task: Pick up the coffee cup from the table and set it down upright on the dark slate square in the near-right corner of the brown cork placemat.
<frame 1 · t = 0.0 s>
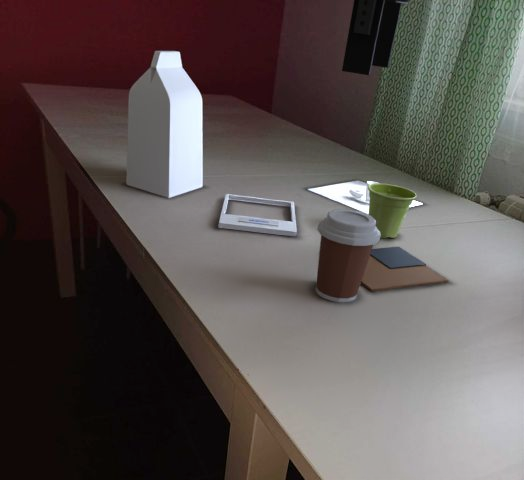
hand: (367, 69, 59), 31 cm above the table, tool pointing down, fingers open, 13 cm apart
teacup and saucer: (365, 197, 129), on the table
plant pot: (381, 234, 108), on the table
coffee cup: (335, 293, 83), on the table
milk: (165, 186, 118), on the table
photo frame: (258, 217, 108), on the table
placemat: (385, 268, 93), on the table
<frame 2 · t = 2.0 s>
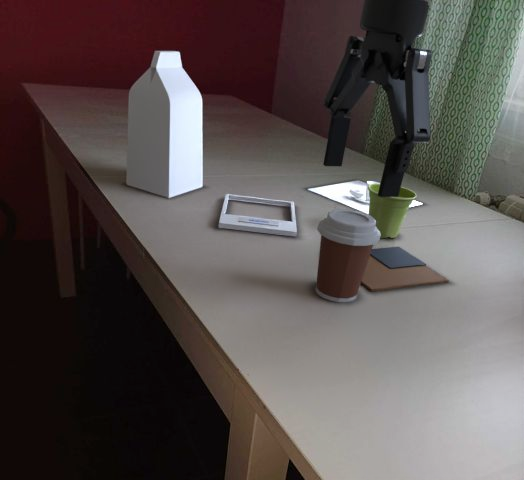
hand: (358, 180, 73), 17 cm above the table, tool pointing down, fingers open, 13 cm apart
nothing on the table moved.
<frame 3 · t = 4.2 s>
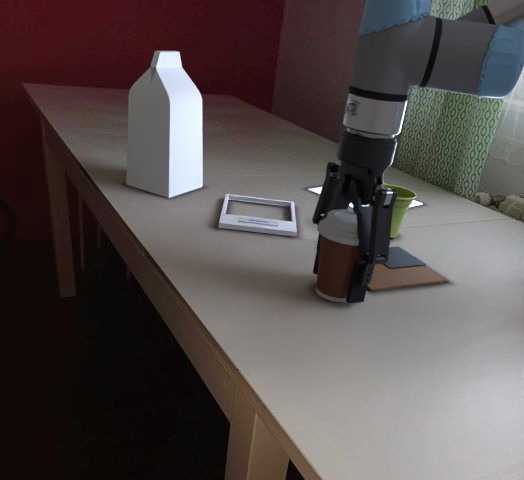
hand: (337, 286, 82), 1 cm above the table, tool pointing down, fingers closed on coffee cup, 9 cm apart
coffee cup: (335, 293, 83), on the table, touching gripper
everything else where it was.
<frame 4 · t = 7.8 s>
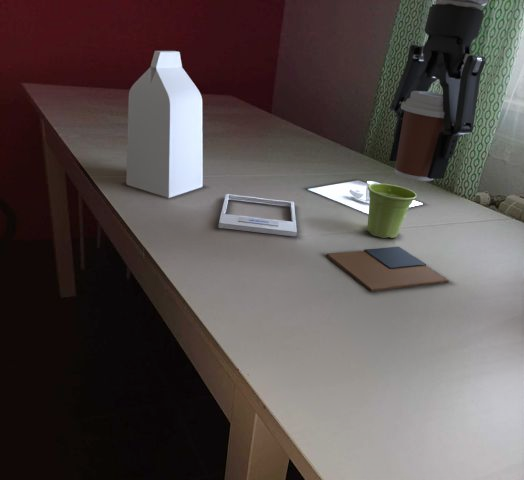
hand: (415, 168, 87), 16 cm above the table, tool pointing down, fingers closed on coffee cup, 9 cm apart
coffee cup: (413, 176, 88), point 15 cm above the table, touching gripper
everything else where it was.
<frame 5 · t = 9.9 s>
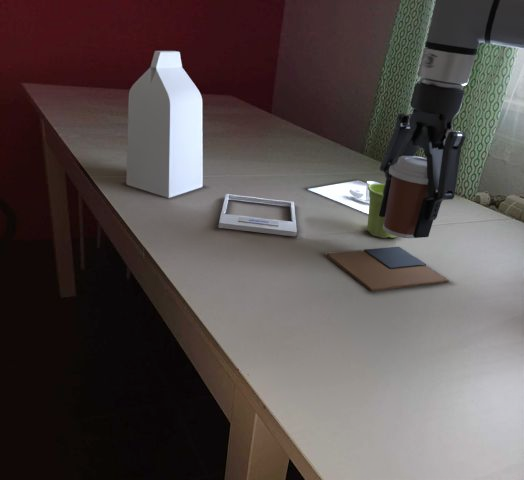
hand: (402, 225, 94), 6 cm above the table, tool pointing down, fingers closed on coffee cup, 9 cm apart
coffee cup: (400, 232, 94), point 5 cm above the table, touching gripper
everything else where it was.
when the fingers open (2 cm above the table, at t = 11.6 s): coffee cup stays where it is, resting on placemat.
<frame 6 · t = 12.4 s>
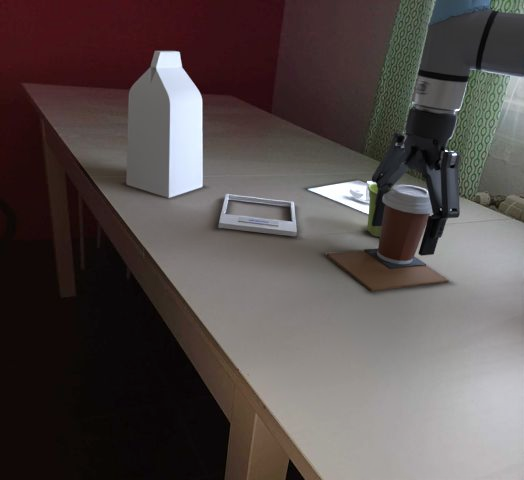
hand: (400, 239, 95), 4 cm above the table, tool pointing down, fingers open, 13 cm apart
coffee cup: (394, 257, 97), resting on placemat
everything else where it was.
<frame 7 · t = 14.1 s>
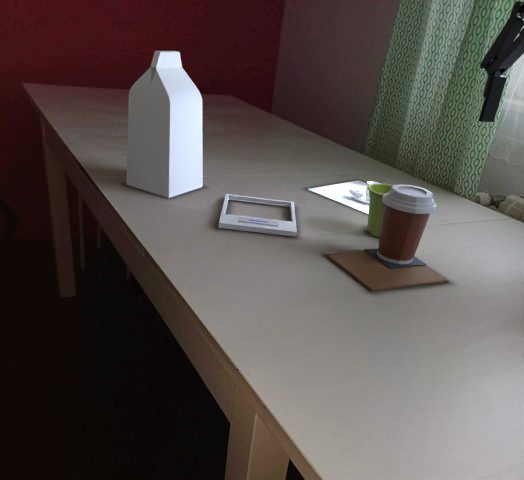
hand: (519, 130, 82), 24 cm above the table, tool pointing down, fingers open, 13 cm apart
nothing on the table moved.
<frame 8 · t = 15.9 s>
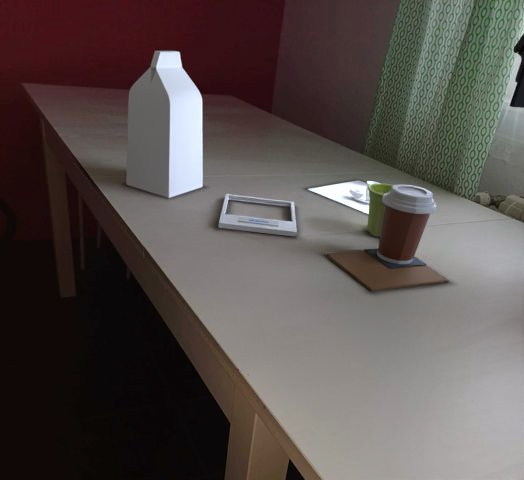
nothing on the table moved.
at the end: coffee cup 0.0 cm from the target spot on the placemat, point 0.4 cm above the placemat's base; coffee cup tilted 0°; the gripper is holding nothing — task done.
